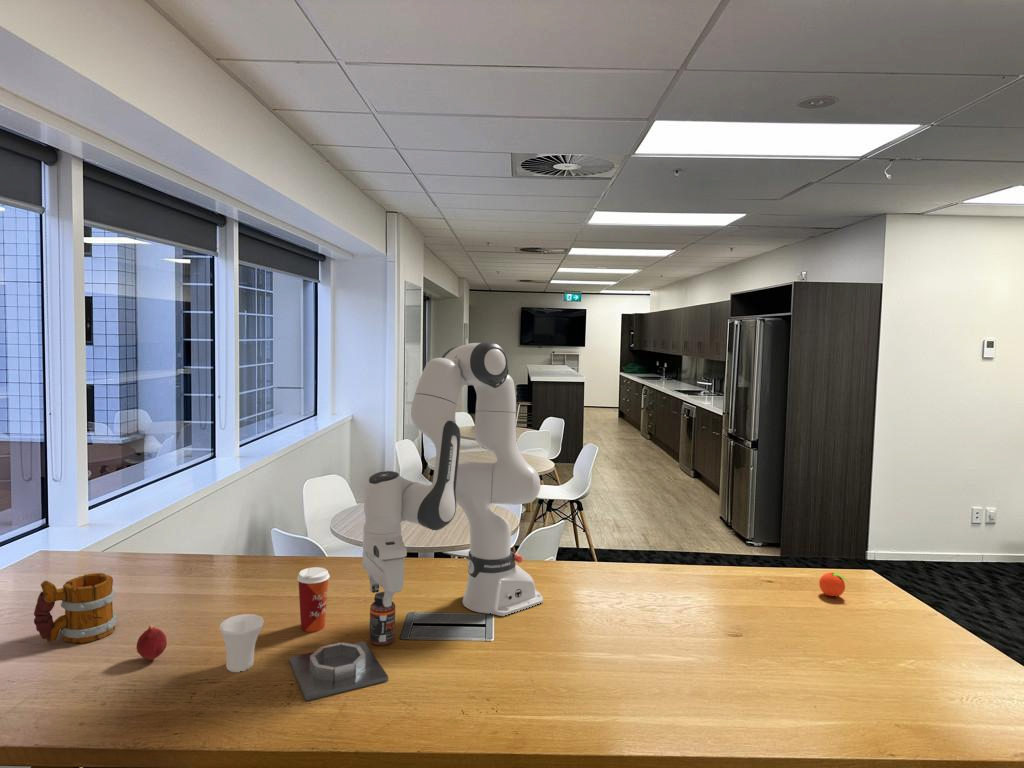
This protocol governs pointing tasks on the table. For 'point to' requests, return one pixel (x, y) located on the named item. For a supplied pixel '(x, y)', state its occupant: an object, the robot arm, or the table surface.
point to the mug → (77, 609)
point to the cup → (240, 640)
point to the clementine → (832, 584)
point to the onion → (151, 643)
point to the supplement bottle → (381, 621)
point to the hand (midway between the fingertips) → (380, 598)
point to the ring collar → (336, 669)
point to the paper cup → (313, 598)
